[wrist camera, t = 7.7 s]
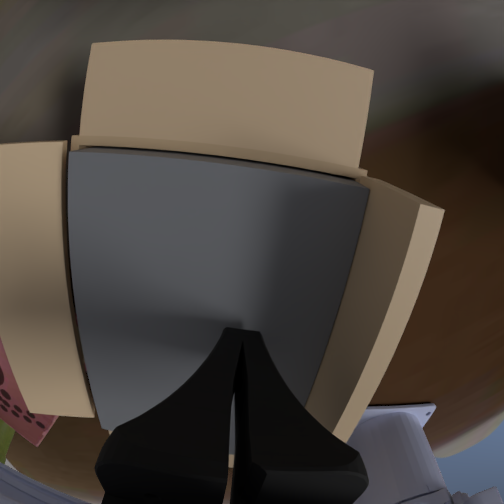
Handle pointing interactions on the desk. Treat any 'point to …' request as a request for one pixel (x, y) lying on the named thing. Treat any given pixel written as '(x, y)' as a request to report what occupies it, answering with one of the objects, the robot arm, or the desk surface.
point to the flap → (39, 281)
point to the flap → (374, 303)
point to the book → (22, 403)
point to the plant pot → (5, 439)
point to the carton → (210, 211)
